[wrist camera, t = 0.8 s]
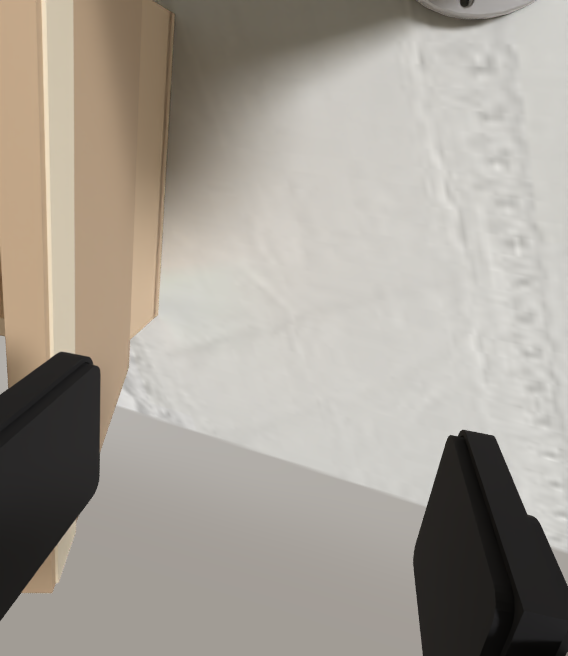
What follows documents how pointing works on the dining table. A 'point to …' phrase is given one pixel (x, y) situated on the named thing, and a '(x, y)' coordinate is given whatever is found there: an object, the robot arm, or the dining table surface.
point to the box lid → (68, 193)
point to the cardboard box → (147, 164)
